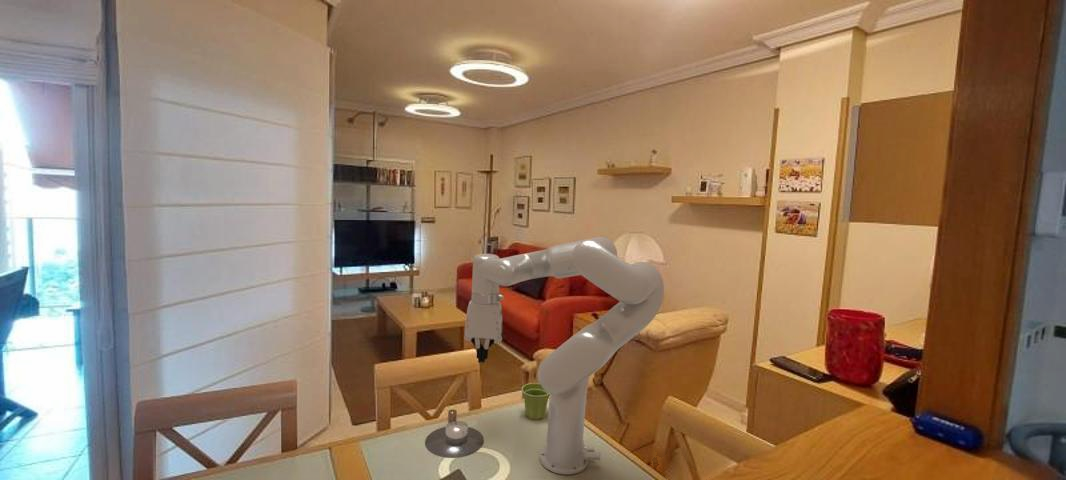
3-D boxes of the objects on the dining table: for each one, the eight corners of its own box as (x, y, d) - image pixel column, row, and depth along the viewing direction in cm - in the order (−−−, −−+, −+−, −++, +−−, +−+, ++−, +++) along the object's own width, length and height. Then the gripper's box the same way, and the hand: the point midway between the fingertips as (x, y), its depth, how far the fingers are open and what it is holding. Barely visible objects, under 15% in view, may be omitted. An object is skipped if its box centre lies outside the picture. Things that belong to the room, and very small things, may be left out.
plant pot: (547, 425, 139) (548, 397, 138) (517, 420, 140) (518, 393, 139) (552, 410, 148) (553, 385, 147) (523, 406, 150) (525, 381, 149)
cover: (459, 431, 130) (460, 418, 130) (471, 441, 126) (472, 427, 125) (441, 438, 126) (441, 425, 126) (452, 448, 122) (453, 434, 121)
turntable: (463, 423, 137) (464, 404, 136) (495, 447, 125) (496, 426, 124) (414, 440, 126) (414, 420, 125) (444, 469, 114) (445, 446, 114)
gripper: (512, 296, 131) (509, 358, 133) (461, 293, 132) (459, 354, 134) (509, 303, 124) (506, 368, 126) (455, 299, 124) (453, 363, 127)
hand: (482, 360), depth 130 cm, fingers closed
